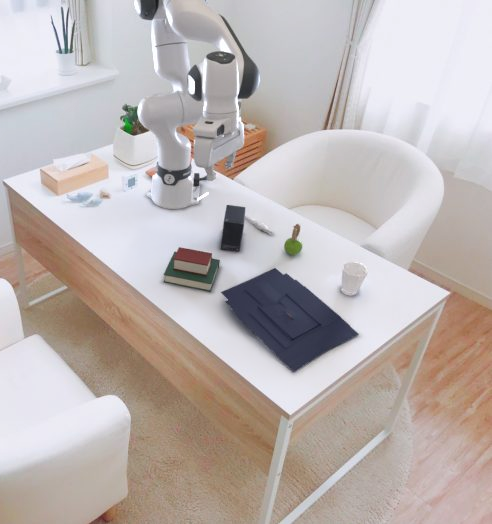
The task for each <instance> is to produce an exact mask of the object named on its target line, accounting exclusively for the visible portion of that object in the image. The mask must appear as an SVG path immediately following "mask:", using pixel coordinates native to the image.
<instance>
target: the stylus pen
mask: <svg viewBox="0 0 492 524" xmlns="http://www.w3.org/2000/svg"><path fill="white" fill-rule="evenodd" d="M245 220H247V221H248V222H249V223H250V224H251V225H253V226H255V227H256V229H258V230H259V231H262V232H264V233H267V234H268V235H269V236H272V234H273V233H274V230H272V229H271V228H270V227H269V226H267V224H266V223H264V222H263V221H259V220H257V219H254V218H253V217H250V216H248V215H246V214H245Z"/></svg>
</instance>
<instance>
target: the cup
mask: <svg viewBox="0 0 492 524" xmlns="http://www.w3.org/2000/svg"><path fill="white" fill-rule="evenodd" d="M367 275H368V267H366V265H364V264H363V262H362V263H361V262H357V261H347V262H344V263H342V271H341V289H340V290H341V291H340V292H341V293H342V294H344V295H345V296H351V297H352V296H355V295H357V292H358V291H359V290H360V288H361V287H362V285H363V283H364V281H365V279H366V277H367Z"/></svg>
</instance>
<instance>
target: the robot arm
mask: <svg viewBox="0 0 492 524" xmlns="http://www.w3.org/2000/svg"><path fill="white" fill-rule="evenodd" d="M133 2H134V9H135V11H136V14H137V16H138V17H139V18H140V19H141V20H144V21H151V47H152V56H153V65H154V66H153V67H154V71H155V72H154V73H155V74H156V75H157V76H158V77H159V78H160V79H162V80H164V81H167V82H169V83H170V85H171V86H172V88H173V89H172V90H173V91H168V92H167V91H166V92H161V93H160V92H159V93H154V94H151V95H149V96H146V97H143V98H142V99H141V100H140V102H139V103H138V106H137V117H138V120H139V122H140V124H141V125H142V126H143V127H144V128H145V129H147V130H148V131H150V132H151V133H152V134H153V136H154V138H155V140H156V143H157V161H156V167H155V168H156V169H155V172H156V173H154V175H152V178H151V188H150V190H149V191H148V192H147V193H146V196H147V198H149V199H151V201H152V202H153V203H154V204H155V205H156V206H158V207H160V208H163V209H167V210H181V209H186V208H187V207H189V206H195V205H198V204H199V202H200V200H201V199H203V198H205V197H206V196H208V195H209V192H208V191H207V192H205V193H204V194H203V195H201V196H200V187H201V185H200V182H202V181H206V180H207V181H210V182H212V181H214V180H216V178H217V177H216V176H217V172H215V171H214V168H215V165H216V164H217V163H219V162H221V161H223V160H224V159H226V161H225V162H224V169H225V170H232V169H233V168H234V163H235V162H234V161H235V159H236V156H237V152H238V151H239V150H241V149H243V147H244V145H245V127H244V123H243V121H242V117H241V116H240V114H239V112H240V110H239V109H240V107H239V104H238V100H247V99H249V98H251V97H252V96H253V95H254V94H255V92H256V91H257V90H258V89H259V86H260V82H261V75H260V70H259V68H258V66H257V64H256V62H255V61H254V60H253V59H252V58H251V57H250V55H248V53H247V52H246V50H245V48H244V47H243V45H242V43H241V42H240V40H239V39H238V36H237V35H236V33H235V31H234V30H233V27H232V26H231V25H230V23H229V22H228V20H227V19H226V17H224V16H223V15H221V14H220V13H218V12H216V10H214V9H213V8H211V6H210V5H209V4H208V3H209V0H133ZM188 40H189V41H197V42H202V43H208V44H211V45H213V46H214V47H217V48H218V49H219V50H218V51H212V52H209V53H208V54H206V55H205V56H204V59H203V61H202V62H199V63H197V64H194V65H193V66H192V67H191V62H190V56H189V49H188ZM189 125H194V126H193V127H192V136H195V137H194V139H193V157H192V156H191V155H192V143H191V141H190V139H189V138H188V136H186V135H185V134H182V133H180V132H177V128H178V127H181V126H182V127H183V126H189ZM192 160H193V163H194V165H195V166H196V167H197V168H201V169H204V171H205V173H206V175H205V176H204V177H200V173H199V172H194V171H193V169H192V168H193V166H192Z"/></svg>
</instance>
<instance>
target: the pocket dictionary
mask: <svg viewBox="0 0 492 524" xmlns="http://www.w3.org/2000/svg"><path fill="white" fill-rule="evenodd" d="M175 252H176V255H175V257H174V268H173V270H178V271H183V272H188V273H194V274H199V275H204V276H207V274H208V272H209V269H210V266H211V261H212V258H213V253H212V252H207V251H202V250H197V249H191V248H186V247H180V246H179V247H178V248H177V250H176V251H175Z"/></svg>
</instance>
